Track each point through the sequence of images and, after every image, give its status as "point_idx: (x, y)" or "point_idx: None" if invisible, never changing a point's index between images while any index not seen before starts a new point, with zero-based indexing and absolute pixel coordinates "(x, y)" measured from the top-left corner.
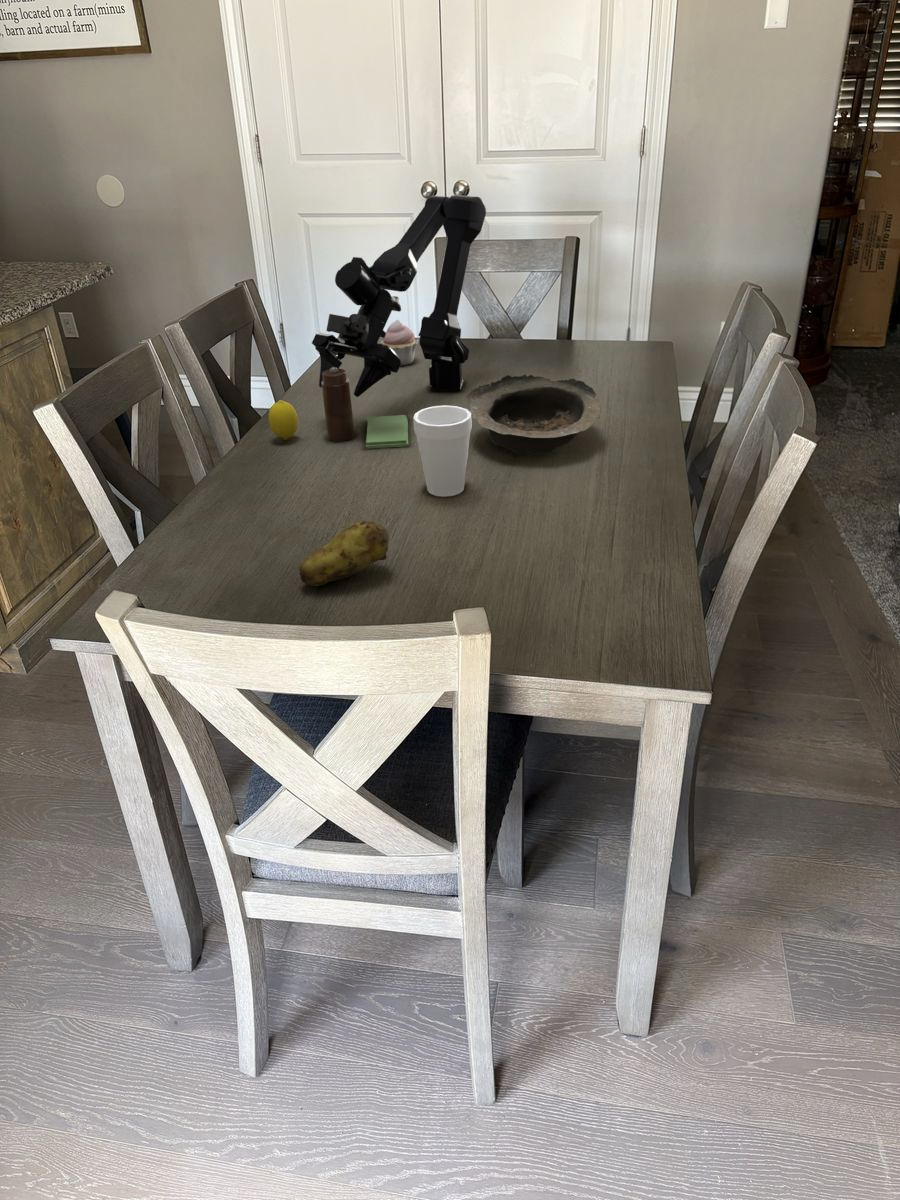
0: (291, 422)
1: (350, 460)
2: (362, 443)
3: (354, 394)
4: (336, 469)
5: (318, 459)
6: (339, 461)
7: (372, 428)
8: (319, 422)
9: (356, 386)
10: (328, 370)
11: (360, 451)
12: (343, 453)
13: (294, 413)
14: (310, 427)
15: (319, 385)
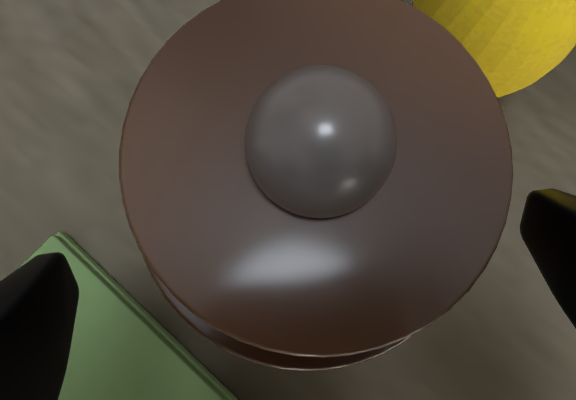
0: (417, 5)
1: (33, 105)
2: (133, 268)
3: (51, 253)
4: (17, 14)
5: (159, 30)
6: (67, 70)
7: (170, 393)
8: (535, 307)
9: (11, 295)
10: (471, 152)
11: (69, 197)
12: (118, 134)
13: (453, 19)
14: (506, 233)
15: (544, 190)
